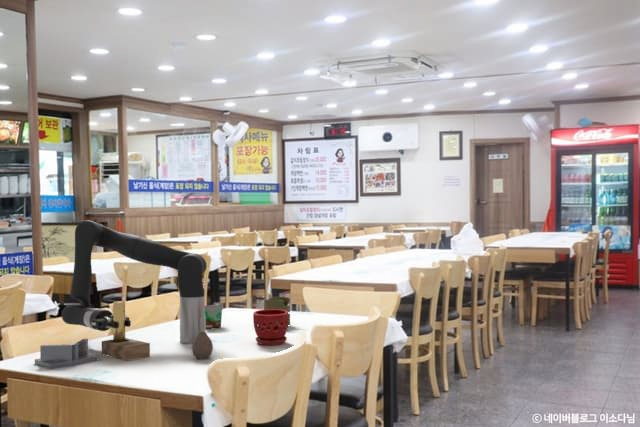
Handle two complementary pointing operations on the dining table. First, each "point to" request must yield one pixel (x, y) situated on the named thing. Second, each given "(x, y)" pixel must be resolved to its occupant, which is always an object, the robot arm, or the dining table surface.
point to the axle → (119, 321)
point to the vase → (202, 346)
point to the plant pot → (270, 326)
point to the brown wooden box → (126, 349)
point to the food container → (213, 315)
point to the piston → (278, 304)
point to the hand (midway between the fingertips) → (123, 324)
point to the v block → (64, 355)
